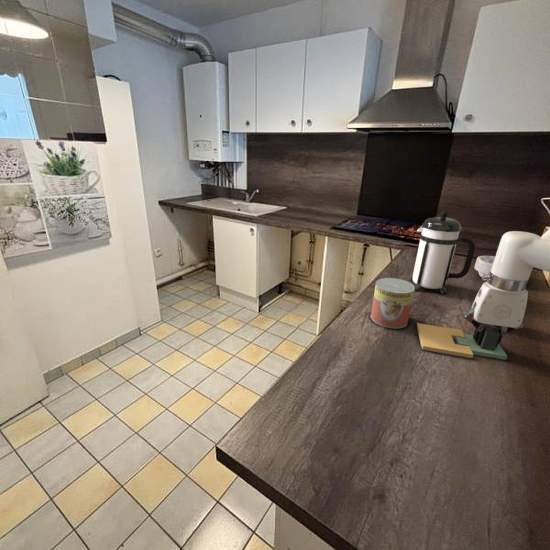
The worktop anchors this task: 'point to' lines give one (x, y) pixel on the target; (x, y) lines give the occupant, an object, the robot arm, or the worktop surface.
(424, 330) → the sand pad
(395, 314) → the canned food
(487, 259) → the paper bowls
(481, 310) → the robot arm
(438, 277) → the coffee press
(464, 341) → the sage pad
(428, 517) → the worktop surface
